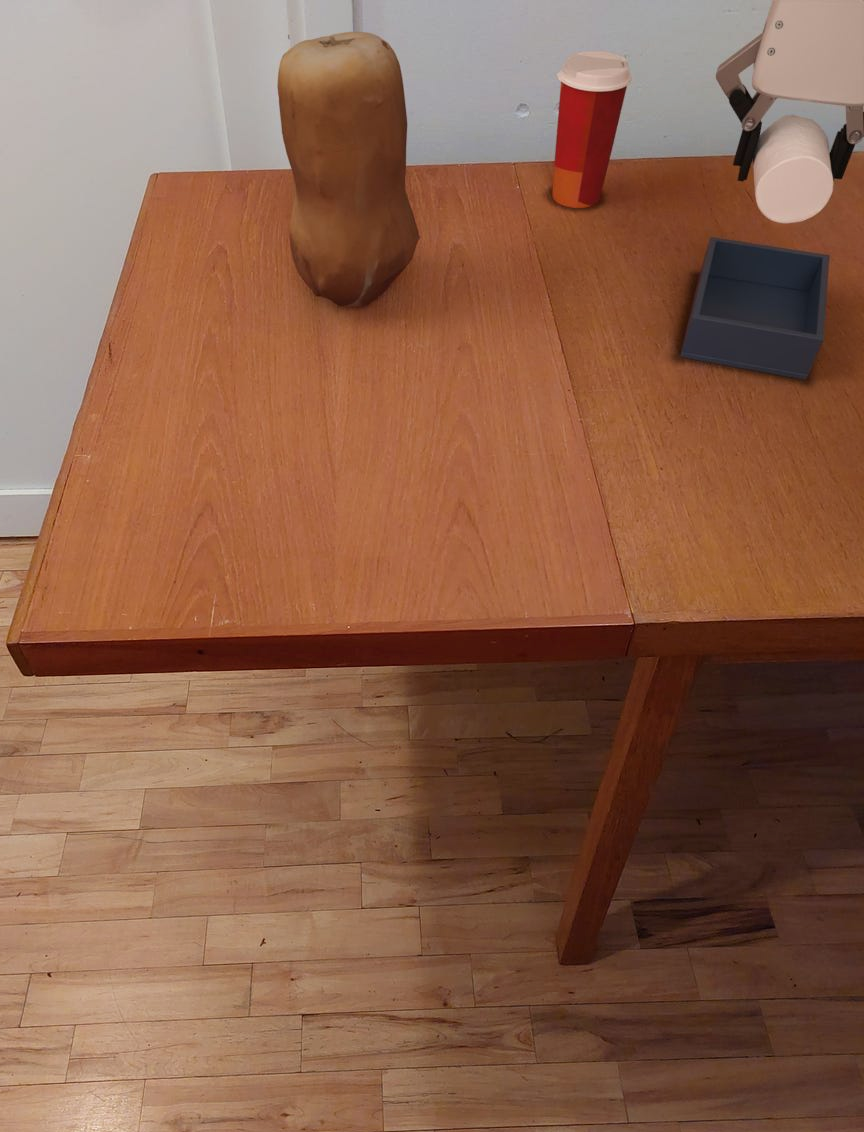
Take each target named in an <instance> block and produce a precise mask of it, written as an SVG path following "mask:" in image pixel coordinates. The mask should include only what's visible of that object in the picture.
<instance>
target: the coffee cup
mask: <svg viewBox="0 0 864 1132" xmlns="http://www.w3.org/2000/svg"><path fill="white" fill-rule="evenodd" d="M557 79H558V80H559V81H560V90H559V102H558V116H557V127H556V138H555V152H554V162H553V177H552V198H553V199H552V200H553V201H555V202H556V203H557V204H559V205H561V206H564V207H567V208H573V209H574V208H575V209H584V208H585V209H586V208H589V207H593V206H595V205H596V204H598V203H599V201H600V199H601V195H602V192H603V188H604V185H605V180H606V176H607V171H608V169H609V163H610V160H611V155H612V152H613V148H614V143H615V139H616V134H617V131H618V130H617V129H618V125H619V122H620V118H621V114H622V109H623V105H624V101H625V97H626V92H627V88H628V86H629V85H630V83H632V79H633V78H632V74H631V72H630V68H629V62H628V61H627V59H626V58H625V57H623V56H621V55H618V54H616V53H612V52H608V51H599V50H598V51H596V50H589V51H588V50H587V51H581V52H576V53H574V54H572V55H570V56H568V57H567V58H566V59H565V62H563V63H562V65H561V69H560V71H558V72H557Z"/></svg>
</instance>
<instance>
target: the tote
mask: <svg viewBox="0 0 864 1132" xmlns="http://www.w3.org/2000/svg"><path fill="white" fill-rule="evenodd" d="M830 257H831V256H830V254H825V253H818V252H811V251H805V250H799V249H793V248H786V247H779V246H774V245H773V246H772V245H767V244H760V243H753V242H747V241H740V240H734V239H733V240H732V239H727V238H721V237H714V236H710V237H709V241H708V244H707V247H706V252H705V254H704V259H703V262H702V265H701V268H700V272H699V276H698V280H697V284H696V288H695V292H694V296H693V300H692V305H691V309H690V313H689V317H688V322H687V325H686V330H685V333H684V338H683V343H682V346H681V351H680V355H679V357H680V358H683V359H689V360H693V361H694V360H695V361H699V362H705V363H710V364H716V365H721V366H727V367H732V368H738V369H743V370H748V371H755V372H758V373H759V372H760V373H764V374H770V375H775V376H781V377H788V378H791V379H798V380H802V381H807V379H808V377H809V375H810V372H811V370H812V368H813V365H814V364H815V360H816V359H817V356H818V354H819V351H820V349H821V346H822V345H823V342H824V341H825V340H824V339H825V338H824V337H825V323H826V310H827V299H828V282H829V269H830V268H829V267H830Z"/></svg>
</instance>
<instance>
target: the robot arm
mask: <svg viewBox="0 0 864 1132" xmlns="http://www.w3.org/2000/svg"><path fill="white" fill-rule="evenodd" d="M765 19H766V20H765V23H764V26H763V29H762V31H761V33H760V34H759V35H758V36H756V37H754V39H752V40H751V41H749V42H748V43H746V44H745V45H744V46H743V47H741V48H740V49H739V50H738V51H736V52H735V53H733V54H732V55H731V56H729V57H728V58H727V59H726V60H724V61H723V62H722V63H720V64H719V65H718V67H717V69H716V73H715V79H716V80H715V81H717V83H718V85H719V87H720V88H721V90H722V91H723V94H724V95H725V96H726V97H727V99H728V103H729V105H730V106H731V108H732V110H733V112H734V113H735V115H736V117H737V118H738V120H739V122H740V124H741V128H742V130H741V134H740V137H739V141H738V144H737V148H736V151H735V155H734V159H733V161H732V162H733V163H732V166H736V167H739V170H738V175H737V182H745V181H747V179H748V176H749V173H750V169H751V166H752V164H753V157H754V153H755V150H756V147H757V144H758V140H759V137H760V135H761V133H762V125H763V122H762V119H763V118H764V116H765V115H766V114H767V112H768V111H769V110H770V109H771V107H772V106H773V105H774V103H775V102H776V100H777V99H782V100H791V101H798V102H807V103H814V104H815V103H816V104H824V105H833V106H835V105H836V106H842V107H843V106H844V107H845V123H844V124H843V126H842V127H841V128H840V130H838V131H837V132H836V135H835V137H834V139H833V143H832V146H831V148H830V150H829V155H830V163H831V172H832V176H833V182H835V179H836V180H842V179H843V177H844V176H845V173H846V170H847V167H848V165H849V162H850V161H851V157H852V154H853V152H854V149H855V146H856V144H859V143H861V142H862V140H863V138H864V0H772V2H771V4H770V8H769V10H768V13H767V17H766V18H765ZM751 65H753V71H752V77H751V86H752V89H753V90H754V91H756V92H755V93H754V95H753V96H751V94H750V92H749V90H748V88H747V87H746V85H745V84H743V82H742V80H741V77H740V74H741V73H742V72H744V71H745V70H746V69H747V68H749V67H750V66H751Z"/></svg>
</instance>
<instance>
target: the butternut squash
mask: <svg viewBox="0 0 864 1132" xmlns="http://www.w3.org/2000/svg"><path fill="white" fill-rule="evenodd" d="M404 87H405V86H404V81H403V73H402V69H401V65H400V62H399V59H398V56H397V55H396V52H395V50H394V49H393V47H392V46H391V45H390V44H389V42H387V41H386V40H385V39H383V38H381V37H380V36H379V35H376V34H374V33H372V32H367V31H345V32H340V33H334V34H333V33H332V34H331V35H330V34H329V35H325V36H319V37H317V38H316V37H315V38H312V39H305V40H302V41H299V42H298V43H296V44H294V45H293V46H292V47H291V48H289V49H288V50H287V51H286V52H284V53H283V55H282V56H281V59H280V62H279V66H278V72H277V87H276V88H277V96H278V107H279V108H278V109H279V117H280V126H281V127H280V128H281V135H282V140H283V141H282V142H283V144H284V149H285V153H286V156H287V159H288V163H289V166H290V169H291V171H292V177H293V179H294V185H295V191H294V199H293V203H292V208H291V209H292V210H291V215H290V221H289V227H288V229H289V233H288V234H289V235H288V238H289V244H290V245H289V247H290V253H291V257H292V261H293V263H294V266H295V269H296V272H297V273H298V275H299V276H300V278H301V279H302V281H303V282H304V283H305V284H306V285H307V286H308V288H309V289H310V290H311V292H312V293H313V295H314V296H315V297H321V298H324V299H327V300H329V301H330V302H332V303H333V304H334V305H336V306H338V307H340V308H341V307H347V308H360V307H365V306H367V305H369V304H370V303H372V302H373V301H375V300H376V299H378V298H379V297H380V296H382V295H383V294H384V293H385V292H386V291H387V290H388V288H389V287H390V286H391V285H392V284H393V283H394V281H396V279H397V278H398V277H399V276H400V274H402V273H403V271H404V270H405V269H406V268H407V267H408V266H409V264H410V263H411V262H412V261H413V258H414V255H415V252H416V249H417V246H418V244H419V243H418V242H419V241H420V240H421V236H420V234H419V230H418V226H417V222H416V219H415V214H414V211H413V208H412V206H411V204H410V200H409V198H408V194H407V191H406V173H407V144H408V143H407V142H408V141H407V140H408V139H407V138H408V115H407V108H406V97H405V88H404Z"/></svg>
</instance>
